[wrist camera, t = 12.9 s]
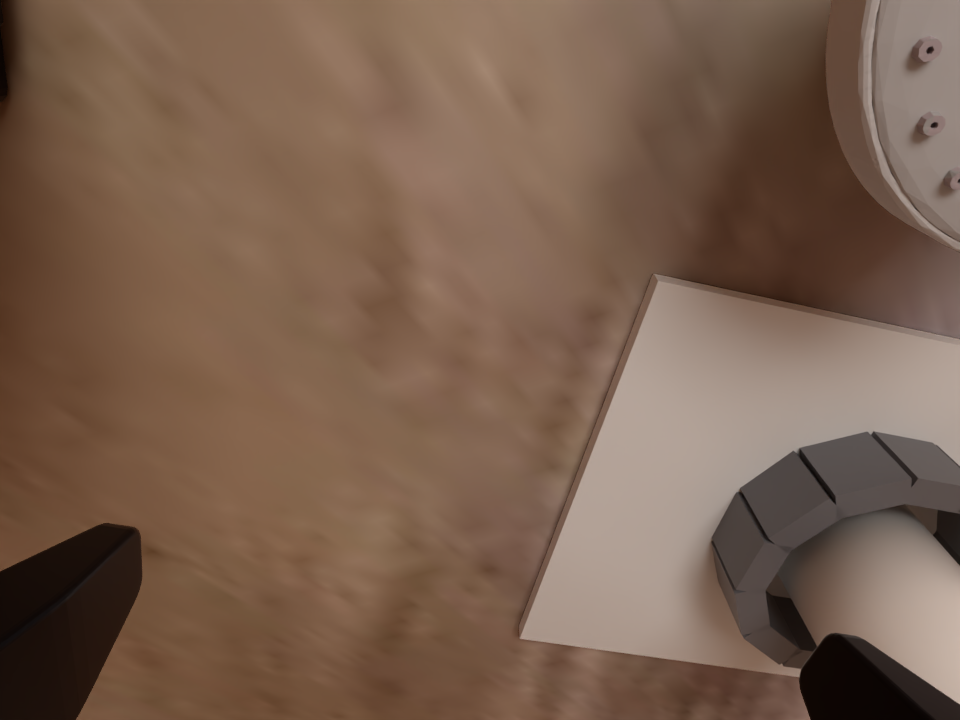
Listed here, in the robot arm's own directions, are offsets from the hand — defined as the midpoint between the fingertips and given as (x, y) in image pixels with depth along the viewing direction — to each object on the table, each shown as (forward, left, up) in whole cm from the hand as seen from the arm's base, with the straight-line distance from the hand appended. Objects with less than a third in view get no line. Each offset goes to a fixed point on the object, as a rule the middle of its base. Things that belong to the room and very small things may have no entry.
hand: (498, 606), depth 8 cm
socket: (+15, -7, -12) cm, 20 cm away
